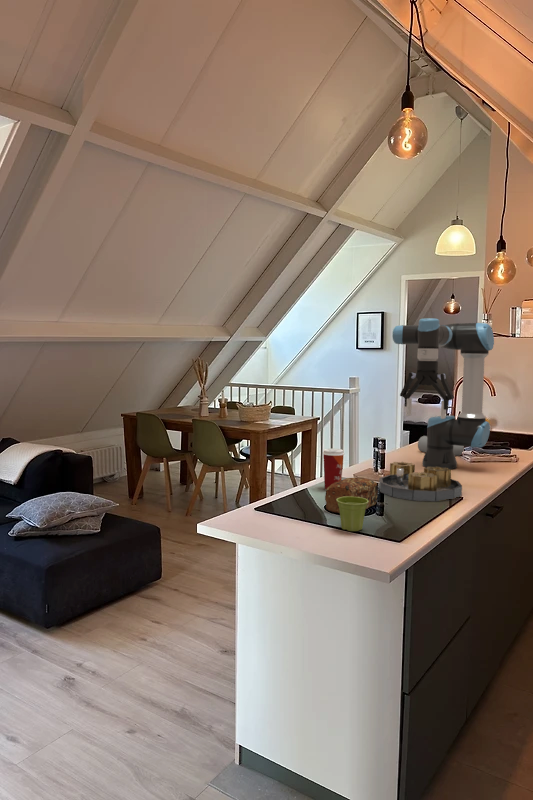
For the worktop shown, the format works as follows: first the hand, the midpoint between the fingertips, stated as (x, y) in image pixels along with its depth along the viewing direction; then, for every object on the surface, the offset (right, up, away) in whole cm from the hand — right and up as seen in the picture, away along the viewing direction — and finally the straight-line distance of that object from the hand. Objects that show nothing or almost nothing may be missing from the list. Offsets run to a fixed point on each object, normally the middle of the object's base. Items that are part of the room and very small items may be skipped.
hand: (425, 417), depth 230 cm
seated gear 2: (+5, -26, +3) cm, 26 cm away
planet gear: (-4, -26, +23) cm, 35 cm away
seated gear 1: (-3, -27, -8) cm, 28 cm away
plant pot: (-34, -32, -48) cm, 67 cm away
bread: (-31, -30, -24) cm, 50 cm away
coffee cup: (-35, -28, +2) cm, 44 cm away
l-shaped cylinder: (+28, -22, +83) cm, 90 cm away
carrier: (-2, -28, 0) cm, 28 cm away
